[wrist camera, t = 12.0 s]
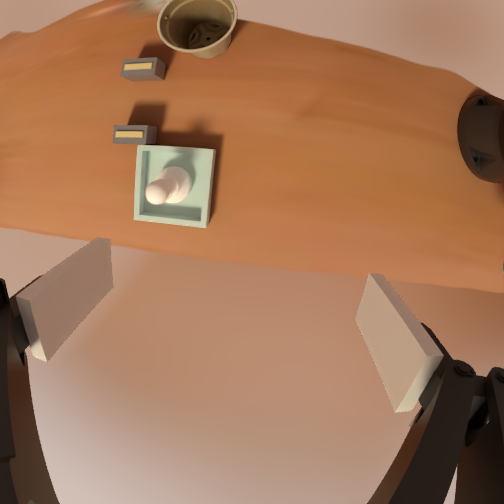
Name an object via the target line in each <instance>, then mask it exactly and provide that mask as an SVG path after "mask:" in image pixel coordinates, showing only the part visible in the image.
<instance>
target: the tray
mask: <svg viewBox="0 0 504 504" xmlns="http://www.w3.org/2000/svg"><path fill="white" fill-rule="evenodd" d="M215 158H216V149H207V148H195V147H180V146H163V145H138V147H137V160H136V177H135V200H134V220H141V221H149V222H158V223H167V224H176V225H184V226H193V227H201V228H206V227H207V226H208V224H209V218H210V207H211V196H212V186H213V176H214V167H215ZM173 166H177V167H181V168H183V169H185V170H186V171H187V172H188V173H189V175H190V177H191V180H192V188H191V191H190V193H189V195H188V196H187V197H186V198H185V199H183V200H182V201H180V202H178V203H168V202H164V203H162V204H158V205H157V204H152V203H150V202H149V201H148V200H147V198H146V194H145V191H146V188H147V186H148V185H149V184H150V183H151V182H153V181H156V178H157V176H158V174H159V173H160V172H161V171H162V170H164V169H165V168H168V167H173Z"/></svg>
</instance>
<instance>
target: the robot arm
mask: <svg viewBox="0 0 504 504" xmlns="http://www.w3.org/2000/svg"><path fill="white" fill-rule="evenodd" d="M458 141H459V146H460V150H461V153H462V156H463V158H464V161H465V163H466V164H467V166H468V168H469V169H470V170H471V172H472V173H473V174H474V175H475V176H477V177H478V178H480V179H482V180H484V181H488V182H492V183H501V182H504V100H502V99H500V98H497V97H495V96H492V95H478V96H474V97H472V98H470V99H469V100H468V101H467V102H466V103H465V104H464V106H463V107H462V109H461V112H460V115H459V120H458ZM503 273H504V264H503ZM112 288H113V278H112V263H111V242H110V239H106V238H96V239H95V240H93V241H92V242H90V243H89V244H87V245H86V246H84V247H83V248H81V249H80V250H78V251H77V252H75V253H74V254H72V255H71V256H70V257H68V258H67V259H65V260H64V261H62V262H61V263H60V264H58V265H57V266H55V267H54V268H52V269H51V270H50V271H48V272H47V273H45V274H44V275H42V276H39V277H37V278H36V279H35V280H33V281H32V282H31V283H29V284H28V285H26V287H24V288H22V289H21V290H20V291H19V292H17V293H16V294H15V295H14V296H12V297H11V298H9V297H8V293H7V288H6V284H5V280H3V279H2V278H0V504H60V503H59V502H58V499H57V497H56V494H55V491H54V488H53V485H52V482H51V479H50V476H49V473H48V470H47V466H46V463H45V459H44V456H43V452H42V448H41V443H40V440H39V435H38V431H37V426H36V420H35V415H34V410H33V404H32V397H31V390H30V382H29V373H28V362H27V356H26V353H25V349H26V348H27V347H28V346H29V345H30V348H31V351H32V354H33V356H34V357H36V358H38V359H41V360H43V361H46V362H48V361H49V360H50V358H51V357H52V356H53V354H54V353H55V352H56V351H57V350H58V349H59V347H60V346H61V345H62V344H63V343H64V341H65V340H66V339H67V338H68V337H69V336H70V335H71V333H72V332H73V331H74V330H75V329H76V328H77V327H78V325H79V324H80V323H81V322H82V321H83V320H84V319H85V318H86V316H87V315H88V314H89V313H90V312H91V311H92V310H93V309H94V307H95V306H96V305H97V304H98V303H99V302H100V301H101V300H102V299H103V298H104V297H105V296H106V294H107V293H108V292H109V291H110V290H111V289H112ZM355 321H356V323H357V325H358V328H359V329H360V332H361V334H362V336H363V338H364V341H365V343H366V345H367V347H368V350H369V352H370V354H371V357H372V359H373V361H374V363H375V366H376V368H377V370H378V373H379V375H380V378H381V380H382V382H383V385H384V387H385V390H386V392H387V394H388V397H389V399H390V402H391V404H392V407H393V409H394V412H406V411H411V410H412V409H413V407H414V406H415V404H416V403H417V401H418V400H419V402H420V404H421V406H422V407H421V409H420V410H419V412H418V413H417V415H416V416H415V418H414V419H413V421H412V422H411V424H410V425H409V426H410V427H411V428H410V431H409V433H408V435H407V437H406V439H405V441H404V443H403V444H402V447H401V449H400V450H399V452H398V454H397V456H396V458H395V460H394V461H393V463H392V465H391V466H390V468H389V470H388V472H387V474H386V475H385V477H384V478H383V480H382V482H381V483H380V485H379V486H378V488H377V490H376V491H375V493H374V494H373V496H372V497H371V499H370V500H369V502H368V503H367V504H443V503H444V501H445V498H446V496H447V493H448V490H449V487H450V485H451V482H452V479H453V476H454V473H455V470H456V467H457V481H456V493H455V501H454V504H504V369H502V368H500V367H494V368H492V369H491V371H490V372H489V374H488V376H487V377H483V376H477V375H476V373H475V371H474V369H473V368H472V367H471V366H470V365H469V364H467V363H465V362H463V361H460V360H453V359H452V358H451V356H450V355H449V353H448V352H447V351H446V349H445V348H444V346H443V345H442V344H441V343H440V341H439V340H438V338H436V336H435V334H434V333H433V332H432V330H431V329H430V328H428V327H427V326H426V325H424V324H423V323H420V322H419V321H418V319H417V318H416V317H415V315H414V314H413V313H412V311H411V310H410V309H409V307H408V306H407V305H406V304H405V302H404V301H403V300H402V298H401V297H400V296H399V295H398V294H397V292H396V291H395V290H394V288H393V287H392V286H391V285H390V283H389V282H388V281H387V280H386V278H385V277H384V276H383V275H381V274H373V273H369V276H368V279H367V283H366V286H365V290H364V293H363V297H362V299H361V303H360V306H359V309H358V312H357V315H356V318H355ZM488 421H489V422H488ZM487 422H488V424H487ZM457 464H458V465H457Z"/></svg>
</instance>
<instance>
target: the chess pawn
mask: <svg viewBox="0 0 504 504" xmlns="http://www.w3.org/2000/svg"><path fill="white" fill-rule="evenodd" d="M191 188H192V180H191V177H190V175H189V173H188V172H187V171H186V170H185V169H183V168H181V167H177V166H173V167H168V168H165V169H164V170H162V171H161V172H160V173H159V174H158V176H157V178H156V181H153V182H151V183H150V184H149V185H148V186H147V188H146V191H145V194H146V198H147V200H148V201H149V202H150V203H152V204H157V205H158V204H162V203H164V202H168V203H178V202H180V201H182V200H183V199H185V198H186V197H187V196H188V195H189V193H190V191H191Z"/></svg>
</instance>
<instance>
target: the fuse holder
mask: <svg viewBox="0 0 504 504" xmlns="http://www.w3.org/2000/svg"><path fill="white" fill-rule="evenodd" d="M165 70H166V64H165V63H164V62H163V61H161V60H160V59H159V58H158V57H153V58H137V59H125V60H124V61H123V66H122V72H121V77H124V78H126V79H128V80H131V81H147V80H164V76H165ZM157 129H158V127H156V126H149V125H114V134H113V143H121V144H156V138H157Z"/></svg>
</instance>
